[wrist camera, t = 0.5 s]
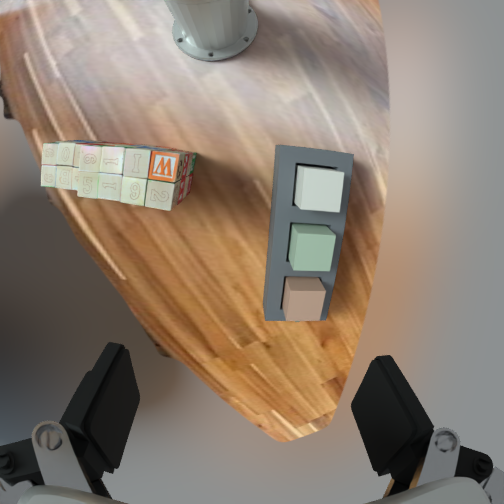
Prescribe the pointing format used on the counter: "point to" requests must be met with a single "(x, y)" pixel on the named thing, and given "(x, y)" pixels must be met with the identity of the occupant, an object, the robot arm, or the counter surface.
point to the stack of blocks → (119, 171)
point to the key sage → (310, 247)
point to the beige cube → (302, 298)
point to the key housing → (290, 212)
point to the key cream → (318, 188)
